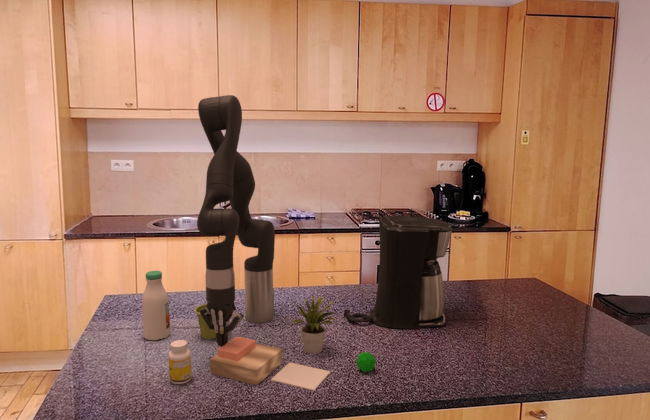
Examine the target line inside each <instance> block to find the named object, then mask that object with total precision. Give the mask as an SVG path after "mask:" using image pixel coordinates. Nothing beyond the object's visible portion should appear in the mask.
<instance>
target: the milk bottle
mask: <svg viewBox="0 0 650 420" xmlns="http://www.w3.org/2000/svg"><path fill="white" fill-rule="evenodd" d="M162 280H163V273H162V271H161V270H151V271H147V272H146V273H145V281H146V284H145V289H144V292H143V293H142V297H141V315H142V316H141V317H142V330H143V331H142V333H143V337H144V339H145V340H147V339H148V340H147V341H160V340H159V339H161V340H163V338H164V339H167V338H168V337H169V336H170V334H171V322H170V321H171V320H170V319H171V318H170V303H169V295H168V293H167V290H166V289H165V287H164V284H163V282H162Z"/></svg>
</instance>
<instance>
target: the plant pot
mask: <svg viewBox="0 0 650 420" xmlns="http://www.w3.org/2000/svg"><path fill="white" fill-rule="evenodd" d="M206 305H207V303H205V304H204V303H203V304H201V305H198V306H196V307H195V308H194V313H196V317H197V318H198V324H199V330H200V336H201V337H202V339H204V340H212V339H216V332H215V330H213V329H212V330H211V329H209V327H208V325H207V324H206V322H205V320H204V319H203V317H202V316H201V314H200V311H201V310H202V309H204V308H206V307H207V306H206ZM211 323H212V322H211Z"/></svg>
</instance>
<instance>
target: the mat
mask: <svg viewBox="0 0 650 420" xmlns="http://www.w3.org/2000/svg"><path fill="white" fill-rule="evenodd" d="M330 374H331V371H329V370H326V369H321V368H316V367H311V366H308V365H303V364H298V363H293V362H288V363H287V364H286V365H285V366H284V367H283V368H282V369H281V370H279V372H277V373H276V374H275V375H274V376H273V377H272V378H271V379H270V381H272V382H275V383H276V382H277V383H280V384H285V385H288V386H291V387H297V388H301V389H305V390H309V391H315V390H316V389H318V387H319V386H320V385H321V384H322V383H323V382H324V380H325V379H326V378H327V377H328V376H329V375H330Z"/></svg>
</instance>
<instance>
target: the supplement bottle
mask: <svg viewBox="0 0 650 420" xmlns="http://www.w3.org/2000/svg"><path fill="white" fill-rule="evenodd" d="M191 357H192V353H191V350H190V349H189V348H188V341H187V340H184V339H178V340H175V341H171V343H170V351H169V353H168V371H169V372H168V373H169V381H170V383H172V384H173V385H184V384H186V383H188V382H191V380H192V379H193V373H192V372H193V370H192V358H191Z"/></svg>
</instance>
